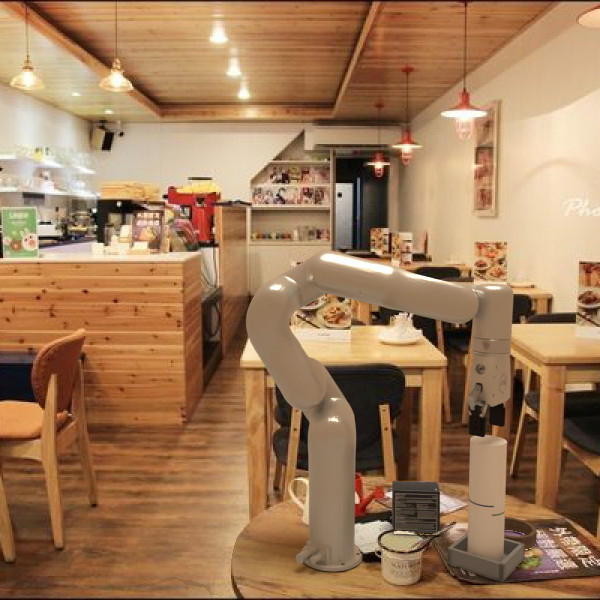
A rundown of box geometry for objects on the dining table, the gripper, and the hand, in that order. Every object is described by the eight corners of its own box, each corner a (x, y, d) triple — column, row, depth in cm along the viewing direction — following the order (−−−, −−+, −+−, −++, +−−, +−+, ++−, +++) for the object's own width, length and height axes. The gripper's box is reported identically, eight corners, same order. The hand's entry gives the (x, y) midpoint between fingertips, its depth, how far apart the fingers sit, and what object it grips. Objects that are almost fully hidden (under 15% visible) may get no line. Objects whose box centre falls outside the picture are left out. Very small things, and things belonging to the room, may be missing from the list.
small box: (437, 524, 157) (438, 480, 157) (440, 537, 151) (441, 491, 150) (391, 523, 159) (392, 479, 158) (392, 535, 152) (393, 489, 151)
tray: (502, 582, 131) (503, 565, 131) (447, 564, 138) (447, 548, 138) (524, 560, 140) (524, 543, 140) (471, 544, 147) (471, 528, 147)
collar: (525, 556, 142) (525, 542, 142) (477, 542, 148) (477, 528, 148) (542, 538, 150) (543, 525, 150) (496, 526, 157) (496, 513, 156)
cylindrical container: (465, 550, 143) (468, 434, 141) (500, 552, 142) (503, 435, 140) (469, 566, 136) (472, 444, 134) (505, 569, 135) (509, 446, 133)
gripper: (491, 354, 126) (487, 444, 128) (525, 343, 139) (521, 425, 141) (454, 349, 131) (450, 436, 132) (490, 339, 144) (486, 418, 146)
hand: (487, 430), depth 137 cm, fingers open, 9 cm apart
